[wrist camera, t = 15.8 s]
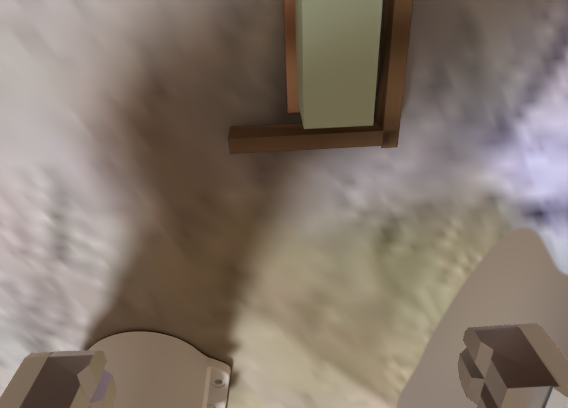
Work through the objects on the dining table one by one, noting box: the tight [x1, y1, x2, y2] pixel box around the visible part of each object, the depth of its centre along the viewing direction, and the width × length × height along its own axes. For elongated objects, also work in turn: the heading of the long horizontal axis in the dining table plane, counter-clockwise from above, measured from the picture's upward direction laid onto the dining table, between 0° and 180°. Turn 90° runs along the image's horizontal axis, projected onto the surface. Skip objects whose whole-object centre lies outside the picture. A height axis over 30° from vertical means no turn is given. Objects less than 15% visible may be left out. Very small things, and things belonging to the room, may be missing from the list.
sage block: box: [295, 0, 383, 129], centre depth 28 cm, size 4×8×6 cm, turn 2°
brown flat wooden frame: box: [228, 0, 413, 154], centre depth 30 cm, size 15×13×2 cm
